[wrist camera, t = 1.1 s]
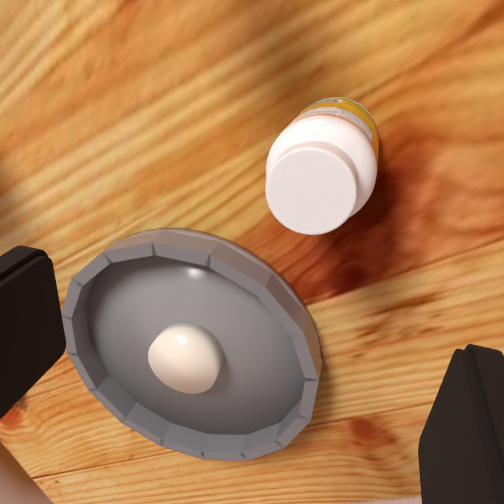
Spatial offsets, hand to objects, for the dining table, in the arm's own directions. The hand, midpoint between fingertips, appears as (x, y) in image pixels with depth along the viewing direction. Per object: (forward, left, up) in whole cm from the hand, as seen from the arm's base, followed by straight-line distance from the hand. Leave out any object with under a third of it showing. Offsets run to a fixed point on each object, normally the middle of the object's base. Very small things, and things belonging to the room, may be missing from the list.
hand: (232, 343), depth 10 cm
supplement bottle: (0, 0, -20) cm, 20 cm away
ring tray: (+9, +19, -20) cm, 29 cm away
